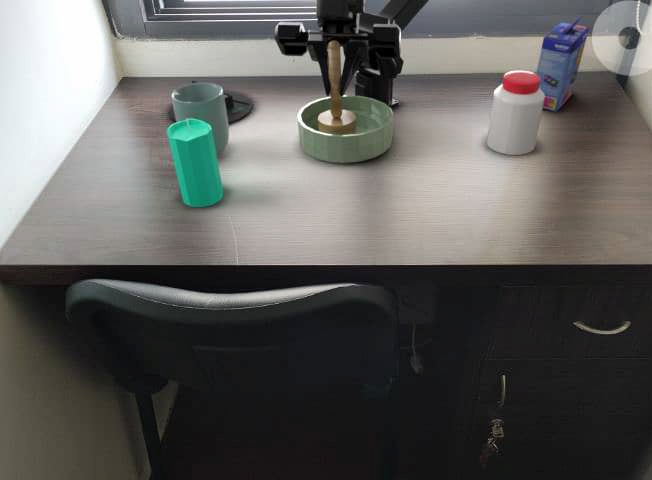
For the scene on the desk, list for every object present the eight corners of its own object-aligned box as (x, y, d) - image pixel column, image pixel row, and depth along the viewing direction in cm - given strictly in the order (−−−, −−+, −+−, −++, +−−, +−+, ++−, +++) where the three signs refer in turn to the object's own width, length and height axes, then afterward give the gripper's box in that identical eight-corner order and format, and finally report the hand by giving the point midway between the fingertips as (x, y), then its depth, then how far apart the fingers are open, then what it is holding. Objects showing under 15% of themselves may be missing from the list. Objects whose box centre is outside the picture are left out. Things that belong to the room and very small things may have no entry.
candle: (184, 186, 90) (167, 109, 82) (225, 184, 90) (211, 107, 83) (179, 208, 86) (160, 129, 78) (222, 206, 86) (207, 127, 78)
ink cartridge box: (558, 113, 107) (577, 27, 97) (528, 106, 109) (543, 22, 100) (574, 93, 113) (593, 11, 104) (545, 87, 115) (561, 6, 106)
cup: (222, 165, 95) (211, 104, 88) (176, 161, 96) (162, 100, 89) (239, 143, 100) (230, 83, 94) (195, 139, 102) (183, 80, 95)
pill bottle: (539, 138, 100) (553, 71, 93) (529, 159, 95) (542, 90, 87) (493, 129, 102) (503, 64, 95) (481, 149, 97) (490, 82, 90)
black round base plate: (153, 112, 110) (145, 82, 106) (216, 86, 119) (212, 58, 115) (205, 135, 103) (199, 104, 99) (269, 106, 111) (266, 76, 107)
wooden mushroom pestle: (322, 122, 99) (317, 33, 90) (358, 123, 98) (357, 34, 89) (315, 139, 95) (309, 47, 85) (353, 141, 94) (351, 48, 85)
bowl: (348, 115, 108) (347, 87, 104) (410, 143, 99) (412, 114, 96) (281, 143, 100) (278, 114, 97) (342, 176, 92) (341, 146, 88)
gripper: (270, -38, 85) (260, 70, 84) (402, -37, 83) (393, 74, 82) (287, 5, 96) (278, 101, 95) (404, 7, 94) (396, 105, 93)
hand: (334, 95), depth 91 cm, fingers closed on wooden mushroom pestle
